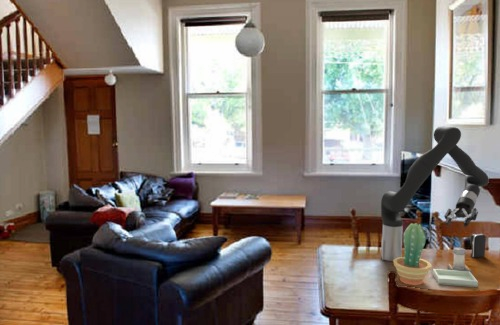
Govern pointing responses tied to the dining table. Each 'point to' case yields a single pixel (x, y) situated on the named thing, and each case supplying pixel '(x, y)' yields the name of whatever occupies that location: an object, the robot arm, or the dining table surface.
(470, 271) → the grey u-shaped bracket
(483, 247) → the dark grey block
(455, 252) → the fuse
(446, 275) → the parts tray
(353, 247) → the dining table surface
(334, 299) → the dining table surface
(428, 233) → the potted cactus
